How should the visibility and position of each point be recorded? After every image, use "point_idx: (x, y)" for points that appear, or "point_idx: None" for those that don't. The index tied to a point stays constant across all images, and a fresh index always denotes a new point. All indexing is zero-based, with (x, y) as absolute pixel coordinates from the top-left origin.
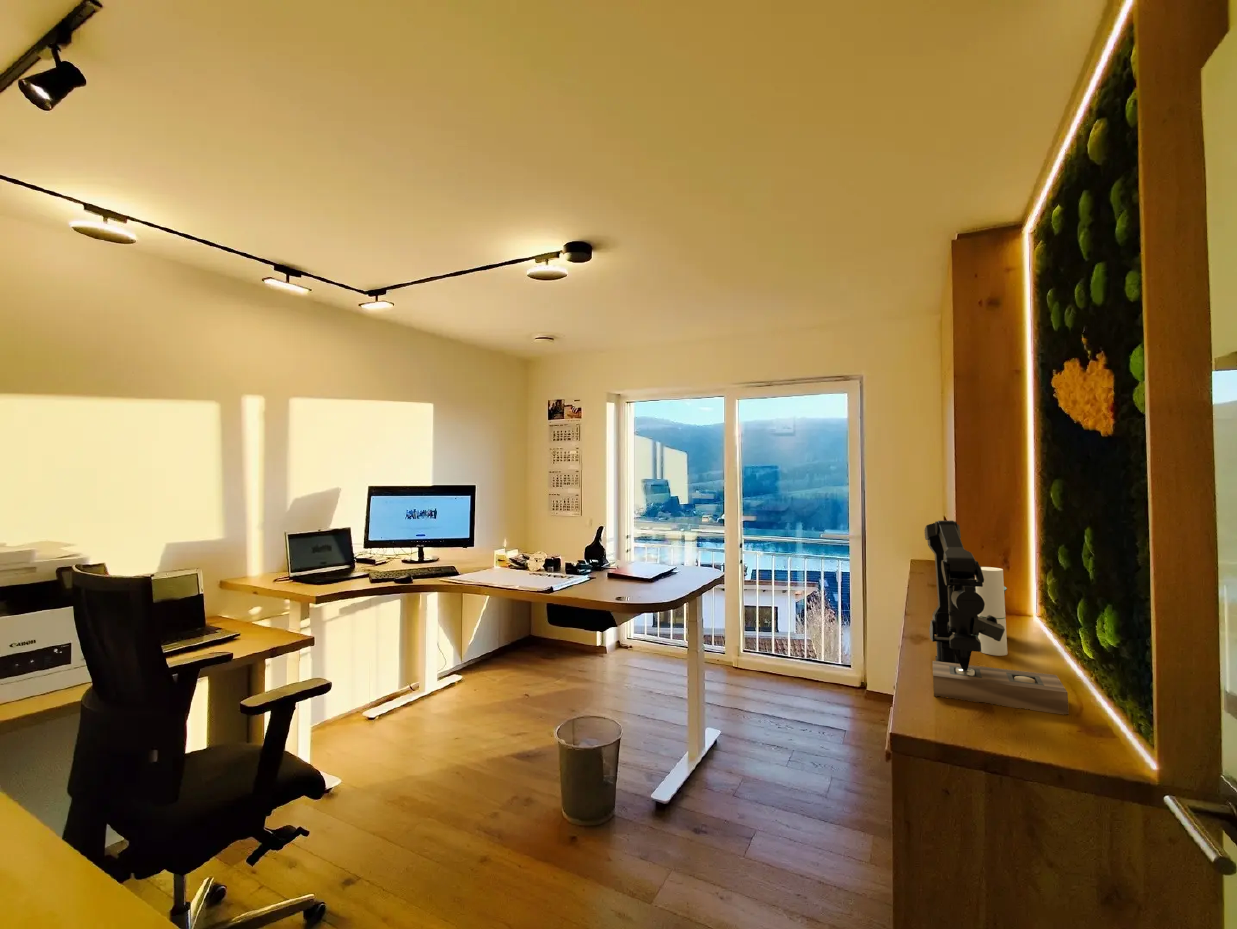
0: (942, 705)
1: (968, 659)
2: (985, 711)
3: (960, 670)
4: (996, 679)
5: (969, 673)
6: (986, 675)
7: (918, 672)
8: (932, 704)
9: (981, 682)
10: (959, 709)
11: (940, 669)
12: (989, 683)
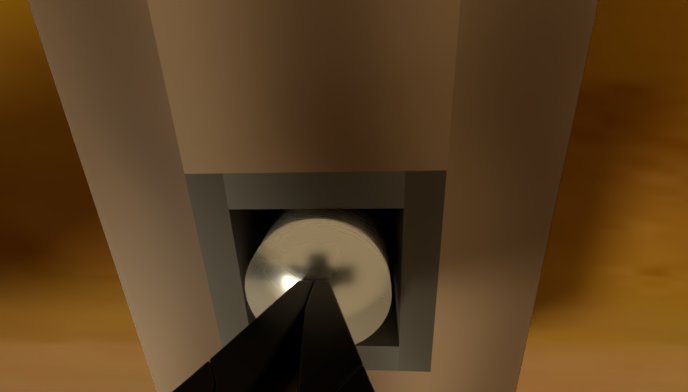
0: (586, 315)
1: (357, 364)
2: (632, 131)
3: (356, 323)
4: (447, 40)
5: (386, 263)
6: (346, 128)
7: (152, 383)
8: (583, 350)
9: (557, 179)
10: (627, 252)
11: None
12: (566, 114)
